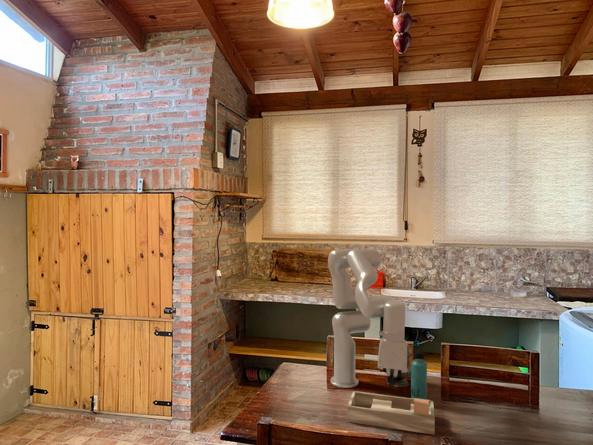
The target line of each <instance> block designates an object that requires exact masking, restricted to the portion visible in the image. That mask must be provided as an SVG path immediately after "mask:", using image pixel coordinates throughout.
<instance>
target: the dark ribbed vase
mask: <svg viewBox="0 0 593 445" xmlns="http://www.w3.org/2000/svg"><path fill="white" fill-rule="evenodd" d="M406 344H407V369H408V371H407V372H401V373H400V374H399V375H397V377H396V385H395V384H394V387H395V388H404V387H405V388H406V387H408V386H409V385H410V383H409V380H407V378H409V377H411V367H410V358H411V357H412V354H413V353H412V349H411V348H410V346H409V344H408V342H406ZM393 372H394V369H391V373H392V374H393ZM386 383H387V384H388V378H387V379H386ZM391 387H392V385H391Z"/></svg>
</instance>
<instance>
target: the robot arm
mask: <svg viewBox="0 0 593 445" xmlns="http://www.w3.org/2000/svg"><path fill="white" fill-rule="evenodd" d="M381 263H382V256H381V254H380V252H379V251H378V250H377V249H376V248H339V249H334V250H332V251H330V253H329V255H328V258H327V264H328V265H327V266H328V270H329V273H330V276H331V280H332V282H331V283H332V293H333V294H332V296H333V303H334V306H335V307H336V308H337V309H338V310H339V309H340V310H346V309H347V310H348V309H355V311H354V310H353V311H351V310H350V311H342V312H337V313H336V314H334V315H333V317H332V318H331V324H332V331H333V376H332V377H331V378H330V384H332V385H333V386H335V387H337V388H341V389H342V388H345V389H348V388H349V389H351V388H354V387H355V388H356V387H357V386H358V385H359V379H358V378H357V377H356V342H355V340H354V338H353V337H352V335H351V334H357V333H358V334H359V333H366V332H368V331H369V330H370V328H371V319H372V318H373V319H374V318H383V321H382V322H383V326H382V330H381V331H378V335H379V336H381V338H380V341H379V345H378V355H377V356H378V357H377V358H378V359H377V369H380V370H382V371H384V372H385V374H386V375H387V379H388V383H387V384H388V385H389V386H388V387H389V388H391V387H392V388H393V389H394V387H395V386H394V384H395V385H396V377H397V375H399V374H400V373H401V372H407V371H408V369H407V344H408V343H407V341H406V339H405V327H406V326H405V325H406V324H405V323H406V305H405V303H403V302H401V301H398V300H397V299H396V298H395V297H393V296H391V295H387V296H372V297H369V295H368V292H367V291H366V289H368V288H369V287H371V286H373V285H374V284H375V283H376V282H377V280H378V279H379V274H378V273H377V271H376V268H379V267H380V266H381ZM348 268H349V269H351V271H352V274H353V275H354V277H355V279H356V282H357V284H356V286H352V278H351V275H350V274H349V272H348V271H347V270H346V269H348ZM406 343H407V344H406ZM391 369H394V372H393V374H392V373H391ZM391 385H392V386H391Z"/></svg>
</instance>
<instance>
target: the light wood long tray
mask: <svg viewBox="0 0 593 445" xmlns="http://www.w3.org/2000/svg"><path fill="white" fill-rule="evenodd" d="M416 399H418V398H416ZM423 400H427V399H423ZM428 400H429V416H428V415H421V414H414V398H412V397H404V396H394V395H386V394H380V393H379V394H378V393H370V392H363V391H356V390H355V391H354V390H353V391H352V394H351V396H350V399H349V401H348V404H347V405H346V406H347V407H346V408H347V409H346V414H347V416H346V418H347V419H346V422H347V423H353V424H360V425H368V426H375V427H381V428H386V429H387V428H388V429H393V430H394V429H395V430H401V431H407V432H415V433H422V434H428V435H432V436H433V435H435V433H436V432H435V431H436V430H435V428H436V427H435V426H436V424H435V423H436V422H435V421H436V420H435V419H436V417H435V408H434V407H435V406H434V401H433V400H431V399H428Z"/></svg>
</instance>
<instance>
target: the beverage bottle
mask: <svg viewBox="0 0 593 445" xmlns="http://www.w3.org/2000/svg"><path fill="white" fill-rule="evenodd" d="M413 358H414V359H412V360H411V363H410V364H411V367H410V368H411V375H410V379H411V380H410V398H418V399H426V400H428V399H427V398H428V363H427V361H425V360H424V359H425V352H423V351H420V350H419V351H416V350H415V351H414V353H413Z"/></svg>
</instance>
